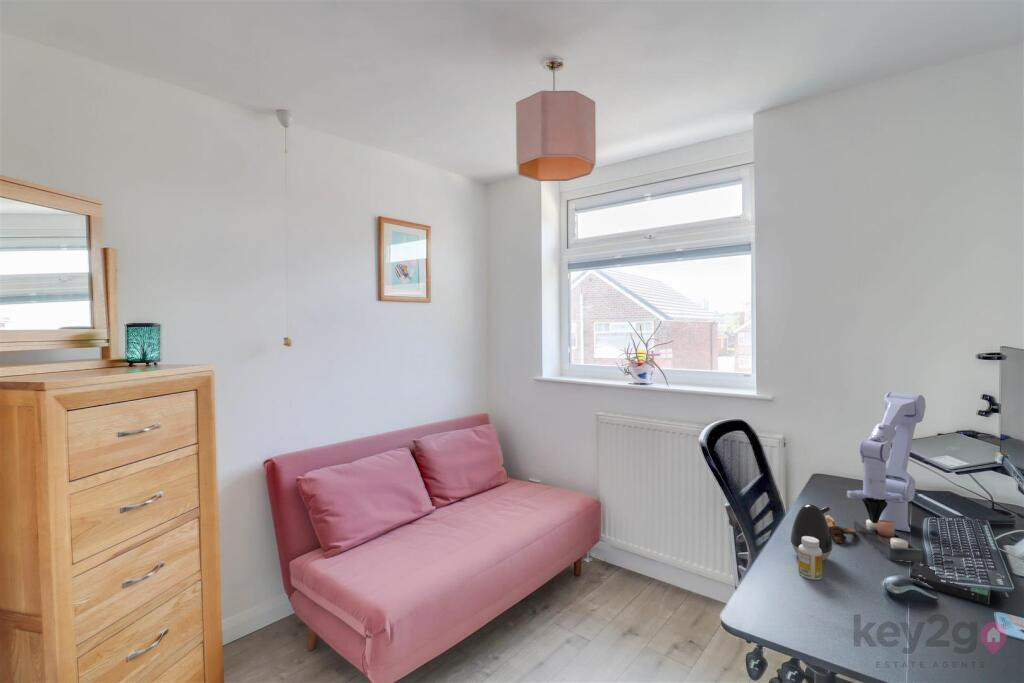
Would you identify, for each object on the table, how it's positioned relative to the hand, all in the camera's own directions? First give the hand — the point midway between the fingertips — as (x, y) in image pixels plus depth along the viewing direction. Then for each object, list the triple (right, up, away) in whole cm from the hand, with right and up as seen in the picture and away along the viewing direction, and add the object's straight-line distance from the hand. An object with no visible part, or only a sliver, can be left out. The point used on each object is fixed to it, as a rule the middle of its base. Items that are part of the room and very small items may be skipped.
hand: (873, 522), depth 153 cm
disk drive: (-3, -6, -29) cm, 30 cm away
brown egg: (-1, -2, -7) cm, 7 cm away
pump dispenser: (-28, -5, -14) cm, 32 cm away
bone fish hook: (-10, -5, +2) cm, 11 cm away
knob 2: (-3, -4, -14) cm, 14 cm away
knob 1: (0, -4, 0) cm, 4 cm away
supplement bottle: (-35, -6, -24) cm, 42 cm away
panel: (-1, -5, -7) cm, 8 cm away
